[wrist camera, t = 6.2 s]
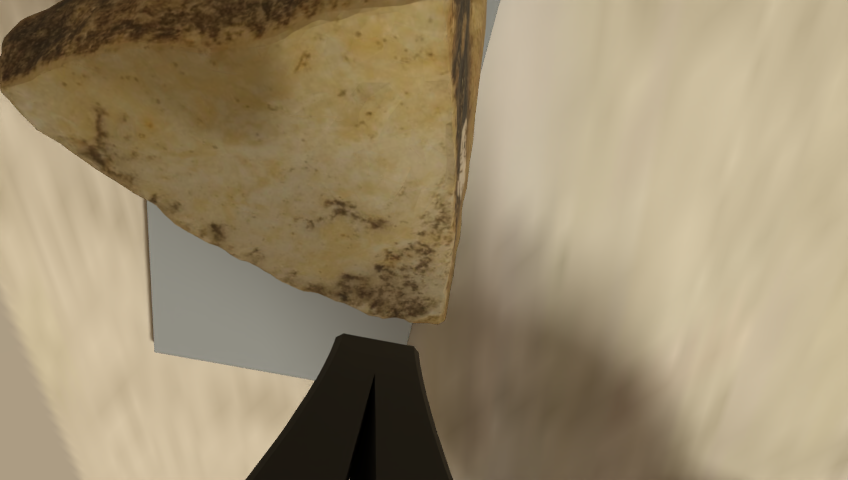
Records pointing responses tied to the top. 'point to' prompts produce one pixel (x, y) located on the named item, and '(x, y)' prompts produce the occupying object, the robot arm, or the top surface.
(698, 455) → the top surface
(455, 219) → the rock
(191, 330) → the mat
